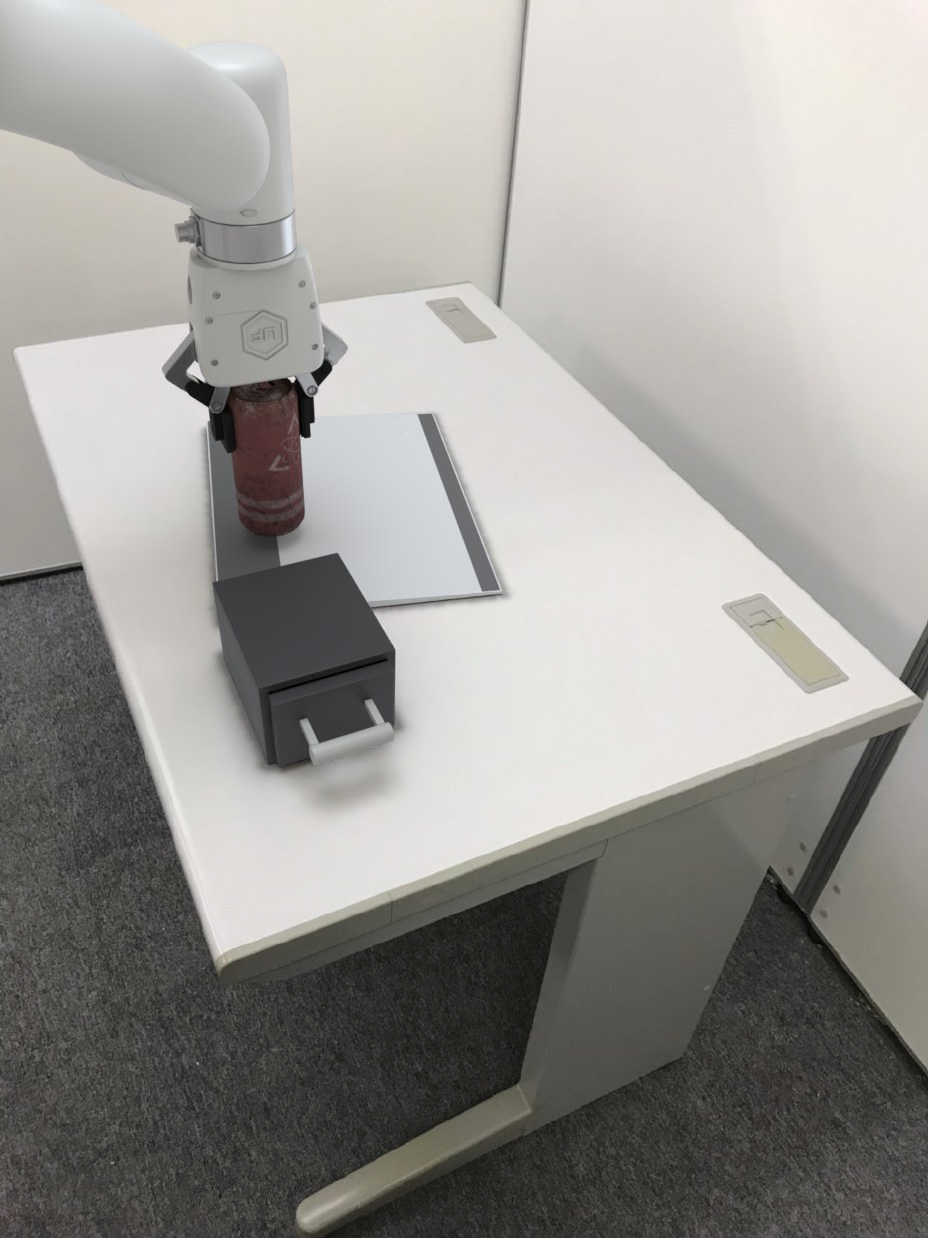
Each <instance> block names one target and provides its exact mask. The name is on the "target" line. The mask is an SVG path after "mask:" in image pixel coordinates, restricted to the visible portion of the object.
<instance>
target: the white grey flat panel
mask: <svg viewBox="0 0 928 1238" xmlns="http://www.w3.org/2000/svg"><path fill="white" fill-rule="evenodd" d="M205 423H206V437H207V438H206V439H207V452H208V454H207V455H208V469H209V471H208V472H209V486H210V498H211V499H210V501H211V517H212V533H213V534H212V535H213V548H214V550H213V551H214V552H213V553H214V566H215V567H214V568H215V580H216V581H220V580H225V579H229V578H233V577H237V576H241V575H246V574H250V573H254V572H258V571H262V570H267V569H271V568H275V567H279V566H283V565H287V564H292V563H296V562H300V561H304V560H308V559H313V558H317V557H321V556H325V555H329V554H334V553H338V554H339V555H340V557H341V559H342V561H343V562H344V564H345V566H346V567H347V569H348V571H349V572H350V574H351V576H352V577H353V579H354V581H355V582H356V584H357V586H358V587H359V589H360V591H361V592H362V594H363V596H364V597H365V599H366V601H367V603H368V604H369V606H370V608H377V607H387V606H397V605H406V604H414V603H415V604H416V603H426V602H434V601H443V600H453V599H462V598H463V599H465V598H472V597H482V596H483V597H484V596H490V595H491V596H492V595H501V594H503V589H502V587H501V584H500V581H499V579H498V577H497V574H496V571H495V568H494V566H493V564H492V561H491V558H490V555H489V553H488V551H487V548H486V545H485V543H484V541H483V538H482V535H481V533H480V530H479V528H478V525H477V523H476V519H475V517H474V515H473V512H472V510H471V509H472V508H471V507H470V505H469V502H468V499H467V496H466V494H465V491H464V489H463V487H462V484H461V481H460V478H459V476H458V473H457V471H456V469H455V466H454V463H453V461H452V458H451V455H450V453H449V450H448V447H447V445H446V443H445V440H444V438H443V435H442V432H441V429H440V427H439V425H438V422H437V419H436V417H435V414H434V412H417V413H416V412H415V413H391V414H390V413H389V414H386V413H385V414H384V413H383V414H357V415H355V414H354V415H331V416H330V415H328V416H315V423H311V424H310V430H311V437H310V438H304V437H301V435H300V440H301V456H302V472H303V488H304V504H305V516H304V519H303V521H302V522H301V524H300V525H299V526H298V528H296V529H295V530H294V531H292V532H290V533H288V534H285V535H282V536H276V537H265V536H260V535H256V534H254V533H252V532H250V531H249V530H248V529H247V528H246V527H245V526H244V525H243V524H242V523H241V522H240V519H239V515H238V506H237V498H236V490H235V481H234V473H233V464H232V456H231V453H227V452H226V450H225V448H224V446H223V444H222V442H221V440H220V441H215V440H214V438H213V435H212V431H211V425H210V419H208V420H205ZM216 581H215V582H216Z"/></svg>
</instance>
